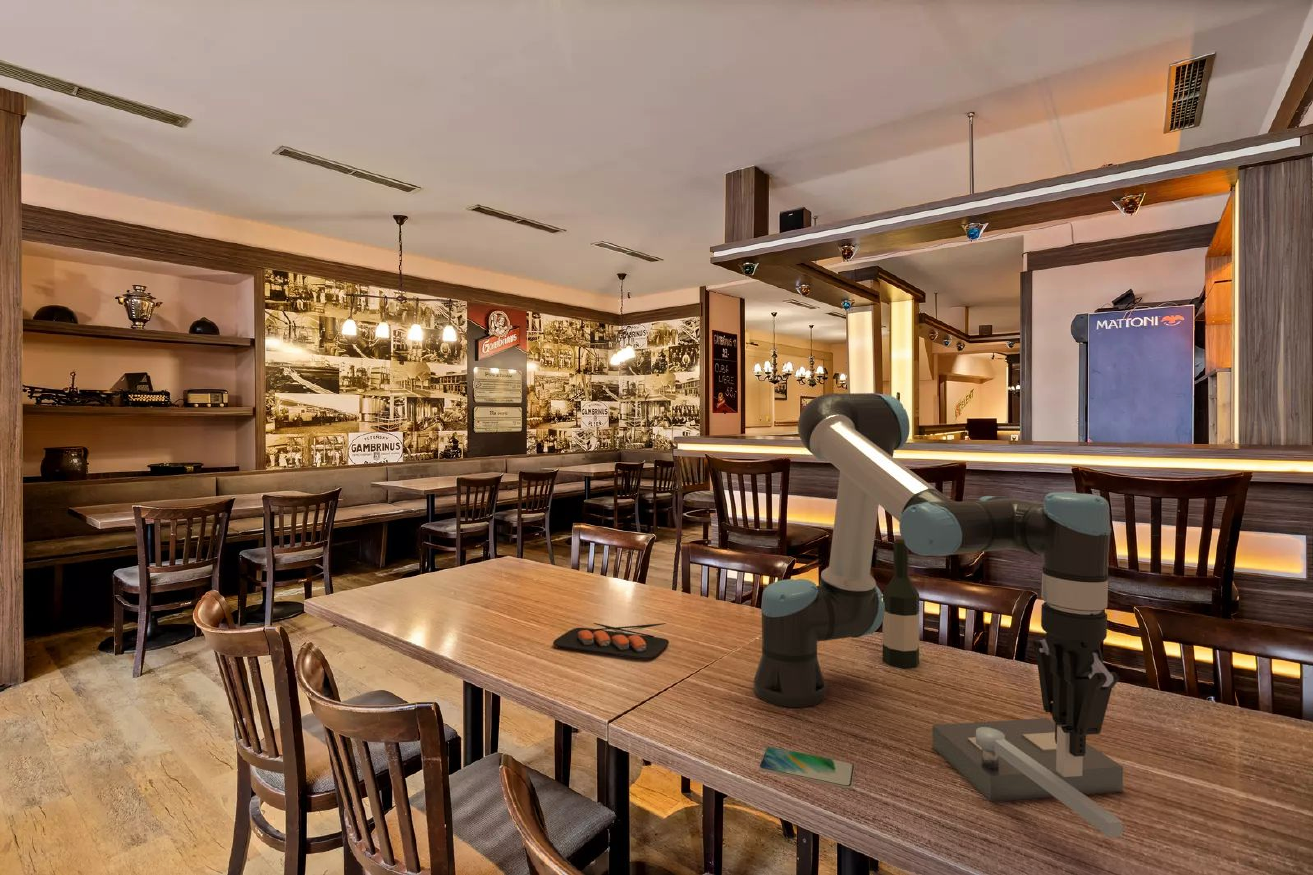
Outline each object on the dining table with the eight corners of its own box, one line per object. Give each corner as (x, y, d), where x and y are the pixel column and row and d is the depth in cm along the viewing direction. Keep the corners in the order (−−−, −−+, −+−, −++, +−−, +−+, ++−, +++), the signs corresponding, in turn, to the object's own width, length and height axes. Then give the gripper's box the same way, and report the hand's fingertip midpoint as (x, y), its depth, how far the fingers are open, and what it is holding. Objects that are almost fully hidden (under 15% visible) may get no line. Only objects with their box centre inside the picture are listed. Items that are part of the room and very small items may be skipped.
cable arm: (970, 739, 98) (970, 728, 98) (992, 737, 99) (992, 726, 99) (1101, 838, 75) (1101, 824, 75) (1130, 835, 75) (1130, 820, 75)
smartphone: (851, 787, 97) (757, 767, 103) (851, 793, 97) (757, 772, 103) (855, 762, 104) (766, 745, 109) (855, 768, 104) (767, 750, 109)
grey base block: (990, 801, 94) (990, 757, 93) (932, 747, 109) (932, 709, 109) (1122, 791, 96) (1123, 748, 96) (1047, 739, 112) (1047, 702, 112)
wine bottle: (922, 670, 144) (923, 542, 143) (885, 667, 145) (885, 541, 145) (915, 657, 152) (915, 536, 151) (879, 654, 154) (880, 535, 153)
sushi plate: (548, 650, 159) (548, 636, 159) (601, 617, 187) (601, 604, 187) (651, 666, 149) (651, 650, 148) (691, 628, 176) (691, 615, 176)
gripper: (1140, 621, 79) (1134, 801, 80) (1063, 591, 92) (1059, 746, 92) (1085, 622, 78) (1080, 804, 79) (1016, 593, 91) (1012, 749, 92)
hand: (1069, 773), depth 86 cm, fingers closed
